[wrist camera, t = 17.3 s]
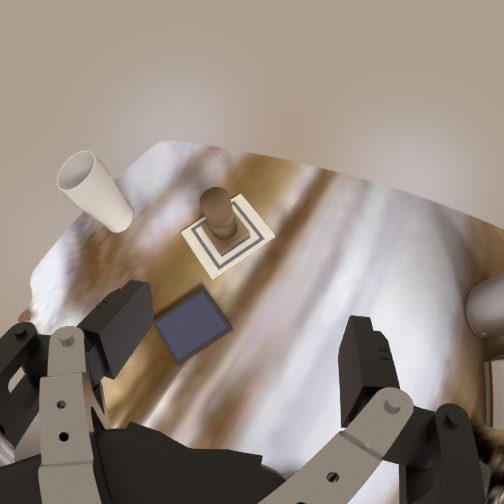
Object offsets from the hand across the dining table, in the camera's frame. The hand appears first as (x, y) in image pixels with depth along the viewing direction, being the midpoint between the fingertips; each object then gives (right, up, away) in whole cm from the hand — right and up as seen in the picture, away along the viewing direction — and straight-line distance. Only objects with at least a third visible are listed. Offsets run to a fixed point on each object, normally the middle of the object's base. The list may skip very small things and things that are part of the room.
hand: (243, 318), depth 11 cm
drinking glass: (-22, +8, +36) cm, 42 cm away
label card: (-3, +5, +33) cm, 34 cm away
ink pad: (-8, -8, +28) cm, 31 cm away
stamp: (-3, +5, +33) cm, 33 cm away
